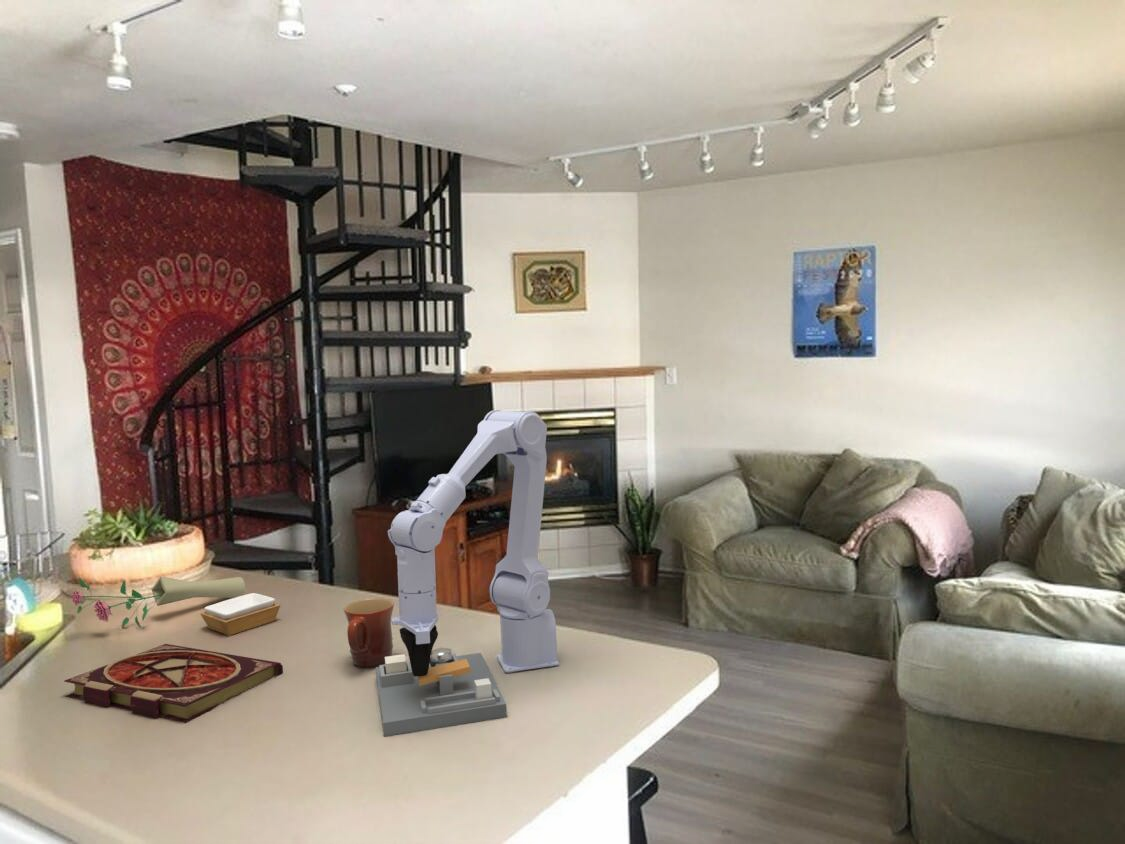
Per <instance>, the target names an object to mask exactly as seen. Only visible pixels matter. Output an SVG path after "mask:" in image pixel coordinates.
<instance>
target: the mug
mask: <svg viewBox="0 0 1125 844" xmlns="http://www.w3.org/2000/svg"><path fill="white" fill-rule="evenodd" d="M394 606H395V602H394V601H393V600H391V599H388V598H383V597H382V598H380V597H373V598H364V599H358V600H355V601H352V602H350V603H347V604H346V605H344V607H343V612H344V615H345V617H346V619H347V622H348V625H347V631H346V632H347V641H348V646H349V648H350V649H349V652H350V655H351V659H352V660H351V661H352V663H353V664H354V665H356V666H358V667H361V668H376V667H379V665H385V657H388V656H393V652H394V651H393V650H394V649H393V648H394V644H393V642H394V641H393V631H392V614H393V611H394V608H395V607H394Z"/></svg>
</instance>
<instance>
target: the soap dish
mask: <svg viewBox="0 0 1125 844" xmlns="http://www.w3.org/2000/svg"><path fill="white" fill-rule="evenodd" d="M280 608H281V604H279V603H276V599H275V598H273V597H270V596H268V595H264V594H260V593H254V592H252V593H248V594H243V596H239V597H236V598H228V599H226V600H223V601H220V602H217V603H214V604H210V605H207V606H205V607H204V611H203V612H201V613H200V616H201V618H202V619H203V622H205V624H206V625H207V628H209V629H210V630H213V631H216V632H219V633H220V634H224V635H226V636H228V637H231V636H233V635H235V634H238V633H242V632H245V631H247V630H251V629H254V628H257V627H259V626H262V625H266V624H269V623H270V624H271V623H273V622H274V621H275V620H276V618H277V615H278V612H279V610H280Z"/></svg>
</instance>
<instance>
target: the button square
mask: <svg viewBox="0 0 1125 844" xmlns="http://www.w3.org/2000/svg"><path fill="white" fill-rule="evenodd" d="M406 661H407V659H406V655H405V654H398V655H397V654H396V655H392V656H388V657H385V664H384V665H385V668H386V674H393V673H400V672H407V667H406Z"/></svg>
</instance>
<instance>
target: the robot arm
mask: <svg viewBox="0 0 1125 844" xmlns="http://www.w3.org/2000/svg"><path fill="white" fill-rule="evenodd" d="M547 430H548V426H547V424H546V423H545V421H544V420H543V419H542V418H541V416H540V414H538V413H536V412H534V411H531V410H530V411H507V410H506V411H504V410H503V411H502V410H499V409H494V410H490V411H489V412H487V414H486V415H485V416H484V418H483V420H481V421H480V422H479V423H478V424H477V433H476V435H474V437H473V438H472V440H471V441H470V443H469V444H468V445H467V447H466V448H465V450H464V451H463V452H462V454H460V456H459V458H458V459H457V460H456V462H455V463H454V464H453V466H452V467H451V469H450V470H449V472H448V473H441V474H437V475H436V477H435V476H432V477H431V478H430V479H429V480H428V483H427V484H428V486H427V487H426V488H425V489H424V490H423V492H422V493H421V494H420V495H419V496H418V498H417V499H416V500H414V501H412V503H411V504H410V507H409V508H408V510H407V509H406V510H404V511H400V512H399V513H398V514H397V515H395V517H394V518H393V519H392V521H391V524H390V529H388V530H387V535H388V538H389V541H390V542H391V544H392V545H393V546H394V549H395V550H394V552H395V555H396V560H397V561H396V563H397V586H398V587H397V588H398V589H397V591H398V593H397V594H398V609H399V610H398V614H399V615H398V616H393V617H391V625H393V626H400V627H401V628H399V630H398V631H399V634H400V635H399V636H400V638H401V640H402V642H403V644H404V646H405V648H406V650H407V653H408V659H409V661H410V664H411V669H412V673H413V675H414V677H416V676H425V675H427V673H428V669H429V663H430V657H431V652H432V651H433V648H434V646H435V643H436V641H437V639H438V636H439V632H438V629H437V625H436V624H437V623H438V621H439V614H438V613H437V612H438V611H437V582H436V578H437V577H436V554H435V553H436V552H435V548H436V547H437V546H438V545H440V543H441V541H442V538H443V533H444V528H445V526H446V524H447V521H448V520H449V519H450V518H451V516H452V515H453V513H455V512H456V510H457V509H458V508H459V506H460V505H461V503H462V502H463V501H464V500H465V499H466V497H467V495H466V486H467V485H468V484H469V483H470V482H471V481H473V479H474V478H475V476H476V475H477V474H478V473H480V471H481V470H482V469H483V468H484V467H485V466H486V465H487V464H488V463H490V461H491V459H493V457H494V456H495V455H499V454H504V456H506V457H507V458H508V460H509V461H510V462H511V463H512V465H513V466H514V470H513V479H512V480H513V481H512V482H513V483H512V491H511V492H512V493H511V503H510V511H509V522H508V523H509V524H508V534H507V545H506V555H505V556H504V557H503V558H502V559H501V560H500V561H499V562H497V564H496V565H495V572H494V575H493V578H492V580H491V583H490V585H489V597H490V600H491V602H492V603H493V604H494V605H495V606H496V609H497V613H499V618H500V619H499V620H500V638H501V641H500V642H501V653H498V654H496V658H497V660H498V662H499V664H500V666H501V667H502V670H503V671H504V673H512V672H513V673H515V672H519V671H526V670H535V669H539V668H540V669H541V668H549V667H555V666H559V665H560V664H559V659H558V643H557V641H558V639H557V638H558V637H557V624H556V619H555V615H554V612H553V610H552V609H550V608H548V605H549V603H550V599H551V587H550V584H549V571H548V569H547V568H546V567H545V566H544V565H543V563H542V562H541V561H540V560H539V547H540V538H541V528H542V527H541V525H542V515H543V504H544V495H545V492H544V491H545V484H546V482H545V481H546V473H547V472H546V471H547V461H548V460H547V458H548V457H547V450H546V441H547V432H548V431H547Z"/></svg>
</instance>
